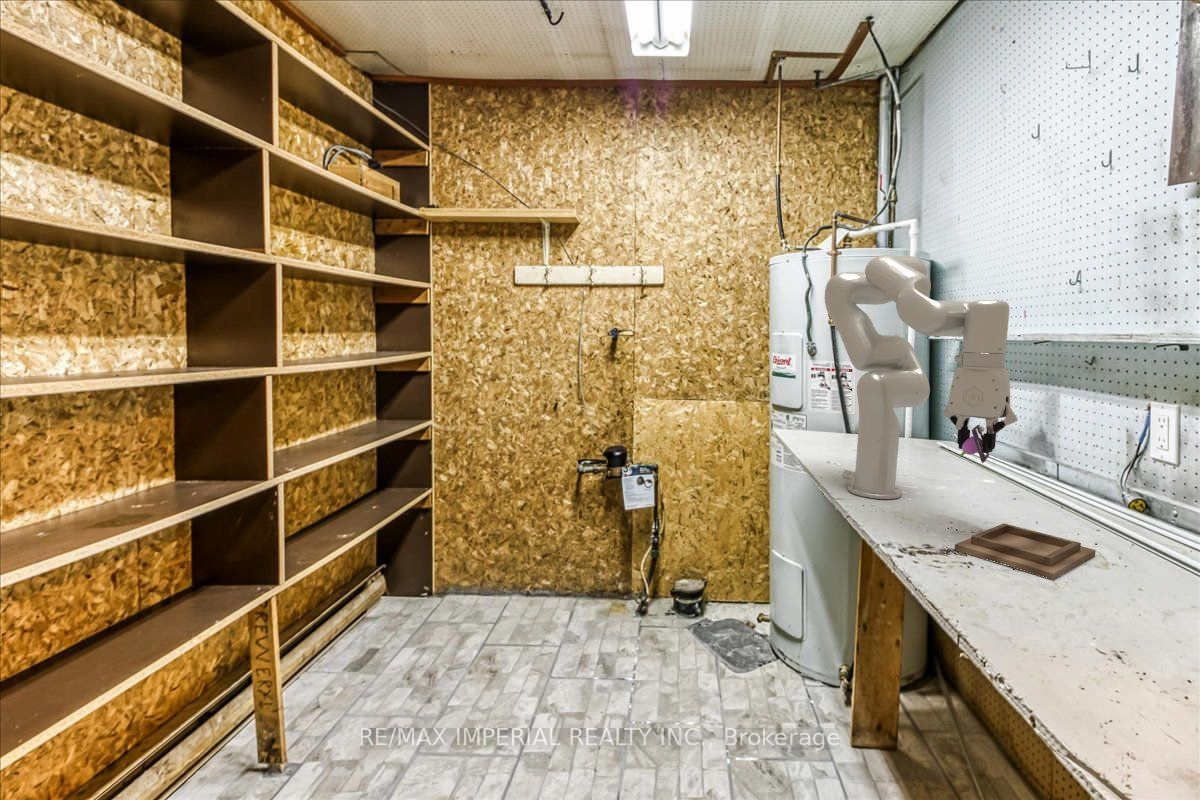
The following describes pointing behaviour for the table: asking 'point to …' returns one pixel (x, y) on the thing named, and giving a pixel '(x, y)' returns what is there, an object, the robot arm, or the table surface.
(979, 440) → the purple figure with panel
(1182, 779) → the table surface
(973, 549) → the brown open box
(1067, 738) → the table surface
